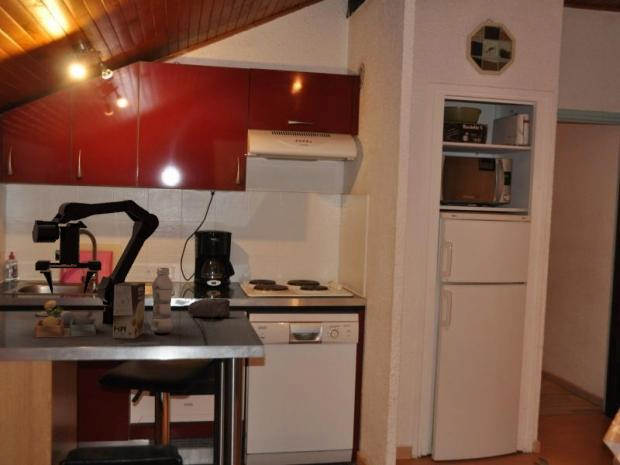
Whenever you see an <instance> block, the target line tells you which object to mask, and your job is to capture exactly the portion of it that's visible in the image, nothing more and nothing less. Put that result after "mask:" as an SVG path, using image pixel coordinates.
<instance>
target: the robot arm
mask: <svg viewBox="0 0 620 465" xmlns="http://www.w3.org/2000/svg"><path fill="white" fill-rule="evenodd" d="M57 211H58V212H57V213H56V214H55V216H54V217H53V218H52V220H42V219H35V220H34V225H33V226H32V227H33V228H32V230H31V238H32V242H33V243H35V244H46V243H47V244H49V243H50V244H52V243H53V244H55V243H56V241H57V240H59V249H55V251H54V257H55V258H54V259H55V262H51V260H50V259H49V260H46V259H39V260H37V261H36V262H34V263H35V265H34V267H35V268H34V271H37V272H39V274H43V276H44V278H45V280H46V281H47V285H48V287H49V290H50V293H51V294H52V295H54V284H53V283H54V281H53V273H52V272H53V271H52V269H86V273H85V274H86V275H85V280H84V286H83V294H86V292H87V289H88V287H89V284H90V281H91V279H92V277H93V275H94V274H98V271H102V267H103V266H102V264H103V263H102V261H101V260H95V259H94V260H93V259H92V260H88V261H87V262H80V256H81V255H80V250H81V249H80V248H81V247H80V244H81V241H80V240H81V239H80V238H81V229H87V228H88V226H87V225H86V224H85V223H84V222H83V221H82V220H83V219H86V218H89V217H92V216H99V215H106V214H116V213H117V214H118V213H125V214H126V215H127V217H129V219H130V220H131V221H132V222H133V226H132V232H131V233H132V234H131V237H130V238H129V240H128V242H127V244H126V246H125V248H124V249H123V252H122V254H121V256H120V257H119V259H118V260H117V263H116V264H115V267H114V269H112V272H111V273H110V274H109V275H108V276H104V275H102V277H101V280H100V283H99V284H98V285H97V286H96V288H97V291H96V295H97V297H98V298H99V300H100V301H101V302H102V305H103V306H104V310H102V319H101V323H102V324H105V325H113V312H114V285H115V284H120V283H125V282H126V278H127V277H128V275H129V273H130V270H132V267H133V265H134V264H135V261H136V259H137V257H138V255H139V254H140V252H141V249H142V248H143V246H144V244H145V242H146V241H147V239H149V238H150V237H151V236H152V235H153V234H154V233H155V232H156V230H157V229H158V227H159V225H160V220H159V217H158V216H157V215H156V214H155V213H150V212H149V211H148V210H147V209H145V208H144V207H142V206H140V205H139V204H137V202H135V201H134V200H133V199H124V200H116V201H107V202H105V201H104V202H96V203H86V202H75V201H71V202H69V201H67V202H62V203H61V204H60V205H59V207H58V210H57ZM61 225H64V226H61ZM56 261H57V262H56ZM51 294H50V295H51Z"/></svg>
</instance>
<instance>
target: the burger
mask: <svg viewBox="0 0 620 465" xmlns="http://www.w3.org/2000/svg"><path fill="white" fill-rule="evenodd" d="M43 307H44V311H38V312H36V313H35V316H34V317H35V318H43V317H44V318H46V317H49V316H53V317H55V318H60V317H61V315H62V314H64V313H66V312H70V313H73V311H69V310H64V308H62V307H61V306H59V305H58V304H57V301H56V300H47V301H46V302H45V303H44V305H43Z"/></svg>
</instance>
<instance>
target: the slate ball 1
mask: <svg viewBox="0 0 620 465" xmlns="http://www.w3.org/2000/svg"><path fill="white" fill-rule="evenodd" d="M70 312H71V311H70ZM70 312H66V313H64V314H62V315H61V317H59V319H64V326H70V321H71V319H76V316H75V314H74V313H73V312H72V313H70Z"/></svg>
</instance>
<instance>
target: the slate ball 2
mask: <svg viewBox="0 0 620 465" xmlns="http://www.w3.org/2000/svg"><path fill="white" fill-rule="evenodd" d="M75 319H76V322H75V325H91V320H90V317H89V316H88V315H80V316H78V317H77V318H75Z"/></svg>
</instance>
